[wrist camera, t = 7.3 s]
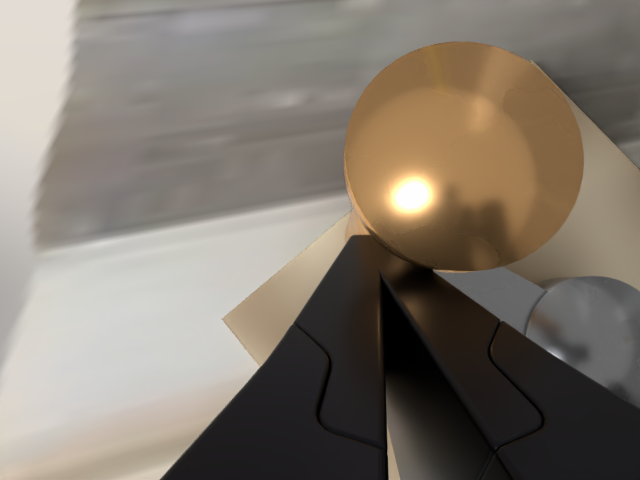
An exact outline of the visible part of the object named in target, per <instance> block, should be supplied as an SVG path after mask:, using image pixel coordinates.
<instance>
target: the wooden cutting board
mask: <svg viewBox="0 0 640 480" xmlns="http://www.w3.org/2000/svg"><path fill="white" fill-rule="evenodd" d="M529 62H530V63H531V64H532V65H534V66H535V67H537V68H538V69H539V70H540V71H542V70H541V69H540V68H539V67H538V66H537V65H536V63H535V62H534V61H533V60H532V59H531V60H530V61H529ZM542 72H543V71H542ZM543 73H544V72H543ZM544 74H545V73H544ZM545 75H546V74H545ZM546 76H547V75H546ZM547 77H548V76H547ZM548 78H549V77H548ZM549 79H550V78H549ZM550 80H551V79H550ZM551 81H552V80H551ZM552 82H553V81H552ZM553 83H554V82H553ZM554 84H555V83H554ZM555 85H556V84H555ZM556 87H557V88H558V89H559V90H560V91H561V93H562V94H563V96H564V97H565V99H566V100H567V102H568V103H569V105H570V107H571V109H572V111H573V113H574V115H575V118H576V120H577V123H578V126H579V129H580V133H581V138H582V143H583V151H584V169H583V178H582V183H581V188H580V192H579V194H578V197H577V200H576V203H575V205H574V207H573V209H572V211H571V213H570V215H569V216H568V218H567V220H566V221H565V222H564V224H563V225H562V227H561V228H560V229H559V231H558V232H557V233H556V234H555V235H554V236H553V237H552V238H551V239H550V240H549V241H548V242H547V243H546V244H544V245H543V246H542V247H540V248H539V249H538V250H536V251H535V252H533V253H532V254H530V255H528V256H526V257H525V258H523V259H521V260H519V261H516V262H514V263H511V264H509V265H506V266H502V267H504V268H506V269H508V270H509V271H511V272H513V273H515V274H517V275H519V276H520V277H522V278H524V279H526V280H528V281H530V282H531V283H533V284H537V283H539V282H542V281H545V280H549V279H553V278H564V277H583V276H602V277H609V278H613V279H617V280H620V281H622V282H625V283H627V284H629V285H631V286H632V287H634V288H636V289H637V290H639V291H640V170H639V169H638V168H637V167H636V166H635V165H634V164H633V163H632V162H631V161H630V160H629V159H628V158H627V157H626V156H625V155H624V154H623V152H622V151H621V150H620V149H619V148H618V147H617V146H616V145H615V144H614V143H613V142H612V141H611V140H610V139H609V138H608V137H607V136H606V135H605V134H604V133H603V132H602V131H601V130H600V129H599V128H598V127H597V126H596V125H595V124H594V123H593V122H592V121H591V120H590V119H589V118H588V117H587V116H586V115H585V114H584V113H583V112H582V111H581V110H580V109H579V107H578V106H577V105H576V104H575V103H574V102H573V101H572V100H571V99H570V98H569V97H568V96H567V95H566V94H565V93H564V92H563V91H562V90H561V89H560V88H559V87H558V86H557V85H556ZM351 211H352V210H351ZM351 211H350V212H349V213H348V214H346V215H345V216H344V217H343V218H342V219H340V220H339V221H338V222H337V223H336V224H334V225H333V226H332V227H331V228H330V229H329V230H327V231H326V232H325V233H324V234H323V235H321V236H320V237H319V238H318V239H317V240H315V241H314V242H313V243H312V244H311V245H309V246H308V247H307V248H306V249H305V250H303V251H302V252H301V253H300V254H299V255H297V256H296V257H295V258H294V259H293V260H292V261H290V262H289V263H288V264H287V265H286V266H284V267H283V268H282V269H281V270H280V271H278V272H277V273H276V274H275V275H274V276H272V277H271V278H270V279H269V280H268V281H266V282H265V283H264V284H263V285H262V286H260V287H259V288H258V289H257V290H256V291H254V292H253V293H252V294H251V295H250V296H249V297H247V298H246V299H245V300H244V301H243V302H241V303H240V304H239V305H238V306H237V307H235V308H234V309H233V310H232V311H231V312H229V313H228V314H227V315H226V316H225V317H223V318H222V320H223V321H224V323H225V324H226V325H227V326H228V328H229V329H230V330H231V331H232V333H233V334H234V335H235V336H236V338H237V339H238V340H239V341H240V343H241V344H242V345H243V346H244V348H245V349H246V350H247V351H248V353H249V354H250V355H251V356H252V358H253V359H254V360H255V361H256V363H257V364H258V365H259V367H261V366H262V364H263V363H264V362H265V361H266V360H267V358H268V357H269V356H270V354H271V353H272V351H273V350H274V349H275V347H276V346H277V345H278V343H279V342H280V341H281V339H282V338H283V336H284V335H285V333H286V332H287V330H288V329H289V327H290V326H291V325H293V322H294V321H295V319H296V318H297V316H298V315H299V313H300V312H301V310H302V309H303V307H304V306H305V304H306V303H307V301H308V300H309V298H310V297H311V295H312V294H313V292H314V291H315V289H316V288H317V286H318V285H319V283H320V282H321V280H322V279H323V277H324V276H325V274H326V273H327V271H328V270H329V268H330V267H331V265H332V264H333V262H334V261H335V259H336V258H337V256H338V255H339V253H340V252H341V250H342V249H343V247H344V246H345V244H346V239H345V233H346V228H347V224H348V221H349V218H350V214H351ZM387 444H388V452H387V455H388V473H389V480H400V476H399V472H398V467H397V463H396V459H395V455H394V451H393V446H392V442H391V438H390V434H389V430H388V426H387Z"/></svg>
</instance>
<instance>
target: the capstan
mask: <svg viewBox="0 0 640 480" xmlns="http://www.w3.org/2000/svg"><path fill="white" fill-rule="evenodd" d="M583 169H584V151H583V143H582V138H581V133H580V129H579V126H578V123H577V120H576V118H575V115H574V113H573V111H572V109H571V107H570V105H569V103H568V102H567V100H566V99H565V97H564V96H563V94H562V93H561V91H560V90H559V89H558V88H557V87H556V85H555V84H554V83H553V82H552V81H551V80H550V79H549V78H548V77H547V76H546V75H545V74H544V73H543V72H542V71H540V70H539V69H538V68H537V67H535V66H534V65H532V64H531V63H530V62H528V61H527V60H525V59H523V58H521V57H519V56H517V55H516V54H514V53H512V52H509V51H506V50H504V49H501V48H498V47H495V46H491V45H487V44H482V43H474V42H447V43H439V44H434V45H430V46H426V47H423V48H420V49H418V50H415V51H412V52H410V53H408V54H406V55H404V56H402V57H401V58H399V59H397V60H396V61H394V62H393V63H391V64H390V65H389V66H387V67H386V68H385V69H383V70H382V71H381V72H380V73H379V74H378V75H377V76H376V77H375V78H374V79H373V80H372V82H371V83H370V84H369V85H368V86H367V88H366V89H365V90H364V92H363V94H362V95H361V97H360V99H359V100H358V102H357V104H356V106H355V109H354V111H353V113H352V115H351V119H350V122H349V126H348V129H347V136H346V143H345V151H344V178H345V185H346V189H347V193H348V196H349V199H350V202H351V204H352V207H353V208H352V211H351V214H350V218H349V221H348V224H347V228H346V233H345V239H346V243H347V241H348V240H349V238H350V237H351V236H352V235H371V236H372V237H373V238H374V239H375V240H376V241H377V242H378V243H379V244H380V245H381V246H383V247H384V248H385V249H386V250H388V251H389V252H390V253H392V254H393V255H395V256H397V257H398V258H400V259H402V260H404V261H406V262H408V263H410V264H413V265H415V266H417V267H421V268H424V269H429V270H433V271H434V272H435V273H437V274H438V275H440V276H441V277H442V278H444V279H445V280H447V281H448V282H449V283H451V284H452V285H453V286H455V287H456V288H458V289H459V290H460V291H462V292H463V293H465V294H466V295H467V296H469V297H470V298H472V299H473V300H474V301H476V302H477V303H479V304H480V305H481V306H483V307H484V308H486V309H487V310H488V311H490V312H491V313H493V314H494V315H495V316H497V317H498V318H499V319H500V322H501V321H505V322H506V323H508V324H509V325H511V326H512V327H513V328H515V329H516V330H518V331H519V332H520V333H522V334H523V335H525V336H526V337H528V338H529V339H531V340H532V341H534V342H535V343H537V344H538V345H539V346H541V347H542V348H544V349H545V350H547V351H548V352H550V353H551V354H553V355H554V356H556V357H557V358H559V359H561V360H562V361H564V362H565V363H567V364H569V365H570V366H572V367H573V368H575V369H577V370H578V371H580V372H581V373H583V374H585V375H586V376H588V377H589V378H591V379H593V380H594V381H596V382H598V383H599V384H601V385H603V386H604V387H606V388H607V389H609V390H611V391H612V392H614V393H616V394H617V395H619V396H621V397H622V398H624V399H626V400H627V401H629V402H631V403H632V404H634V405H636V406H637V407H639V408H640V291H639V290H637V289H636V288H634V287H632V286H631V285H629V284H627V283H625V282H622V281H620V280H617V279H613V278H609V277H602V276H583V277H564V278H553V279H549V280H545V281H542V282H539V283H537V284H533V283H531V282H530V281H528V280H526V279H524V278H522V277H520V276H519V275H517V274H515V273H513V272H511V271H509V270H508V269H506V268H504V267H502V266H506V265H509V264H511V263H514V262H516V261H519V260H521V259H523V258H525V257H526V256H528V255H530V254H532V253H533V252H535V251H536V250H538V249H539V248H540V247H542V246H543V245H544V244H546V243H547V242H548V241H549V240H550V239H551V238H552V237H553V236H554V235H555V234H556V233H557V232H558V231H559V229H560V228H561V227H562V225H563V224H564V222H565V221H566V220H567V218H568V216H569V215H570V213H571V211H572V209H573V207H574V205H575V203H576V200H577V197H578V194H579V192H580V188H581V183H582V178H583Z"/></svg>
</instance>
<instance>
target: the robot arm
mask: <svg viewBox="0 0 640 480" xmlns="http://www.w3.org/2000/svg"><path fill="white" fill-rule="evenodd" d="M387 426H388V430H389V434H390V438H391V442H392V446H393V451H394V455H395V459H396V463H397V467H398V472H399V476H400V480H640V408H639V407H637V406H636V405H634V404H632V403H631V402H629V401H627V400H626V399H624V398H622V397H621V396H619V395H617V394H616V393H614V392H612V391H611V390H609V389H607V388H606V387H604V386H603V385H601V384H599V383H598V382H596V381H594V380H593V379H591V378H589V377H588V376H586V375H585V374H583V373H581V372H580V371H578V370H577V369H575V368H573V367H572V366H570V365H569V364H567V363H565V362H564V361H562V360H561V359H559V358H557V357H556V356H554V355H553V354H551V353H550V352H548V351H547V350H545V349H544V348H542V347H541V346H539V345H538V344H537V343H535V342H534V341H532V340H531V339H529V338H528V337H526V336H525V335H523V334H522V333H520V332H519V331H518V330H516V329H515V328H513V327H512V326H511V325H509V324H508V323H506V322H505V321H501V322H500V319H499V318H498V317H497V316H495V315H494V314H493V313H491V312H490V311H488V310H487V309H486V308H484V307H483V306H481V305H480V304H479V303H477V302H476V301H474V300H473V299H472V298H470V297H469V296H467V295H466V294H465V293H463V292H462V291H460V290H459V289H458V288H456V287H455V286H453V285H452V284H451V283H449V282H448V281H447V280H445V279H444V278H442V277H441V276H440V275H438V274H437V273H435V272H434V271H433V270H429V269H424V268H421V267H417V266H415V265H413V264H410V263H408V262H406V261H404V260H402V259H400V258H398V257H397V256H395V255H393V254H392V253H390V252H389V251H388V250H386V249H385V248H384V247H383V246H381V245H380V244H379V243H378V242H377V241H376V240H375V239H374V238H373V237H372V236H371V235H352V236H351V237H350V238H349V240H348V241H347V243H346V244H345V246H344V247H343V249H342V250H341V252H340V253H339V255H338V256H337V258H336V259H335V261H334V262H333V264H332V265H331V267H330V268H329V270H328V271H327V273H326V274H325V276H324V277H323V279H322V280H321V282H320V283H319V285H318V286H317V288H316V289H315V291H314V292H313V294H312V295H311V297H310V298H309V300H308V301H307V303H306V304H305V306H304V307H303V309H302V310H301V312H300V313H299V315H298V316H297V318H296V319H295V321H294V322H293V325H291V326H290V327H289V329H288V330H287V332H286V333H285V335H284V336H283V338H282V339H281V341H280V342H279V343H278V345H277V346H276V347H275V349H274V350H273V351H272V353H271V354H270V356H269V357H268V358H267V360H266V361H265V362H264V363H263V364H262V366H261V367H260V368H259V369H258V370H257V372H256V373H255V374H254V375H253V376H252V377H251V379H250V380H249V381H248V382H247V383H246V384H245V386H244V387H243V388H242V389H241V390H240V391H239V392H238V393H237V394H236V396H235V397H234V398H233V399H232V400H231V401H230V402H229V403H228V404H227V406H226V407H225V408H224V409H223V410H222V411H221V412H220V413H219V414H218V416H217V417H216V418H215V419H214V420H213V421H212V422H211V423H210V424H209V426H208V427H207V428H206V429H205V430H204V431H203V432H202V433H201V434H200V436H199V437H198V438H197V439H196V440H195V441H194V442H193V443H192V444H191V445H190V447H189V448H188V449H187V450H186V451H185V452H184V453H183V454H182V455H181V457H180V458H179V459H178V460H177V461H176V462H175V463H174V464H173V465H172V467H171V468H170V469H169V470H168V471H167V472H166V473H165V474H164V475H163V477H162V478H161V479H160V480H389V473H388V455H387V452H388V444H387Z"/></svg>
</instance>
